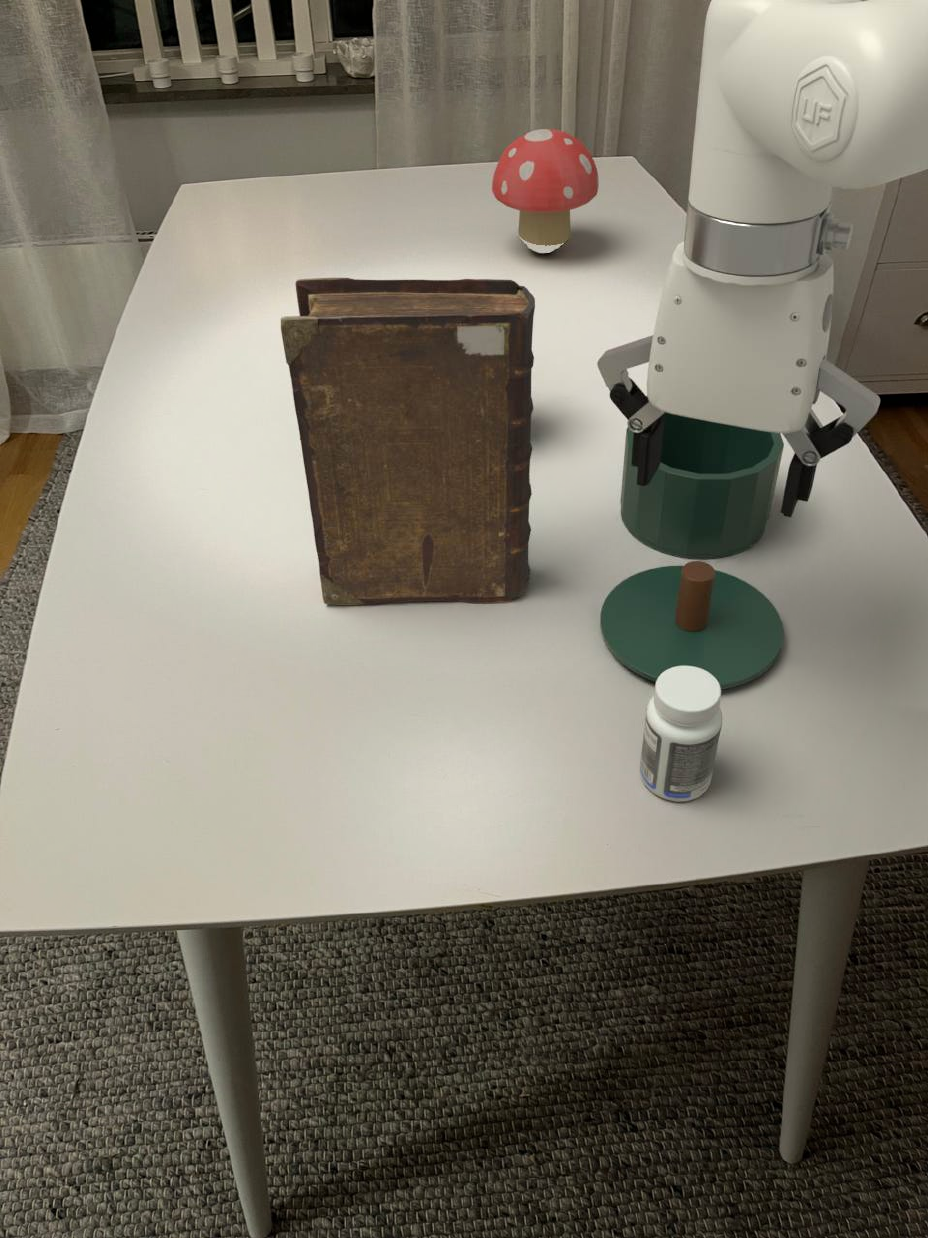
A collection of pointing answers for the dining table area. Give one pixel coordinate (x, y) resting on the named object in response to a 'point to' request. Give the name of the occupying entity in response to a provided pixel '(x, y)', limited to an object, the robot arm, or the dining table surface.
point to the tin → (703, 489)
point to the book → (415, 435)
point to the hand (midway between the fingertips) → (717, 490)
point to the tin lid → (691, 624)
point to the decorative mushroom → (545, 183)
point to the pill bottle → (681, 733)
